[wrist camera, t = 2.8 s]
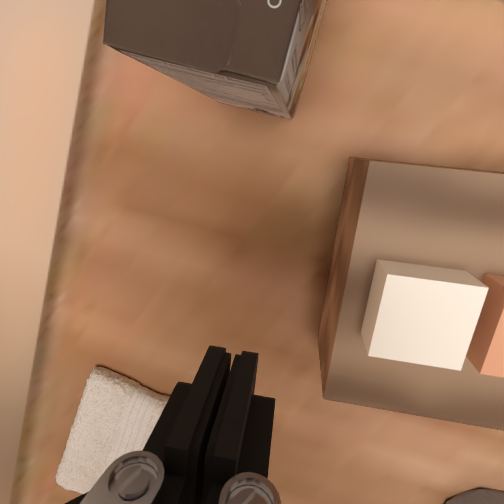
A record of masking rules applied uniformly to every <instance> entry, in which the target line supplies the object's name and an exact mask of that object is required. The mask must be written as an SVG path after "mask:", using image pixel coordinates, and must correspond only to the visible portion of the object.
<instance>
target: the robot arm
mask: <svg viewBox="0 0 504 504" xmlns="http://www.w3.org/2000/svg"><path fill="white" fill-rule="evenodd" d="M257 363H258V353H253V352H247V351H242V354H241V355H238V354H236V355H235V358H234V361H233V364H232V367H231V371H230V364H231V353H226V348H222V347H216V346H209V348H208V350H207V352H206V354H205V356H204V359H203V361H202V363H201V365H200V368H199V370H198V372H197V374H196V376H195V379H194V381H193V383H192V384H190V383H184V382H178V383H177V385H176V386H175V388H174V390H173V392H172V394H171V396H170V398H169V400H168V402H167V404H166V405H165V407H164V409H163V411H162V413H161V415H160V417H159V419H158V421H157V423H156V425H155V427H154V429H153V431H152V433H151V435H150V437H149V439H148V440H147V442H146V444H145V446H144V448H143V450H141V451H132V452H129V453H126V454H124V455H122V456H120V457H119V458H117V459H116V460H114V461H113V462H112V463H111V464H110V466H109V467H108V468H107V469H106V470H105V471H104V473H103V474H102V475H101V477H100V478H99V479H98V481H97V482H96V483H95V484H94V486H93V487H92V488H91V490H90V491H89V492H87V493H85V494H83V495H81V496H79V497H77V498H75V499H73V500H71V501H69V502H67V503H65V504H281V501H280V496H279V493H278V491H277V490H276V488H275V486H274V485H273V484H272V483H271V482H270V481H269V480H268V479H267V477H268V467H269V457H270V447H271V437H272V427H273V417H274V408H275V398H269V397H263V396H258V395H254V389H255V380H256V372H257Z"/></svg>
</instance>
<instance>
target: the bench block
mask: <svg viewBox="0 0 504 504" xmlns="http://www.w3.org/2000/svg"><path fill="white" fill-rule="evenodd" d="M377 259H379V260H387V261H395V262H402V263H410V264H418V265H425V266H433V267H441V268H448V269H456V270H464V271H467V272H468V273H470V274H471V275H472V276H474V277H475V278H476V279H478V280H479V281H480V282H482V279H483V276H484V273H487V274H494V275H502V276H504V173H502V172H492V171H482V170H472V169H462V168H452V167H442V166H432V165H422V164H412V163H402V162H392V161H382V160H372V159H362V158H352V157H350V159H349V164H348V170H347V176H346V181H345V187H344V192H343V198H342V204H341V209H340V215H339V221H338V226H337V232H336V238H335V243H334V249H333V255H332V260H331V266H330V272H329V277H328V283H327V289H326V294H325V300H324V306H323V311H322V317H321V322H320V328H319V334H318V345H319V356H320V367H321V379H322V390H323V399H326V400H332V401H337V402H343V403H349V404H355V405H360V406H366V407H372V408H377V409H383V410H389V411H394V412H400V413H406V414H412V415H417V416H423V417H429V418H434V419H440V420H446V421H451V422H457V423H463V424H469V425H474V426H480V427H486V428H491V429H497V430H503V431H504V378H503V377H497V376H490V375H484V374H480V373H479V372H478V371H477V370H476V368H475V367H474V366H473V364H472V363H471V362H470V361H469V359H468V358H467V357H465V360H464V363H463V366H462V369H461V371H459V370H453V369H447V368H440V367H434V366H428V365H422V364H415V363H409V362H403V361H397V360H390V359H384V358H378V357H372V356H368V354H367V351H366V348H365V345H364V342H363V339H362V335H361V329H362V325H363V320H364V316H365V311H366V307H367V302H368V298H369V293H370V289H371V284H372V280H373V275H374V271H375V266H376V261H377Z"/></svg>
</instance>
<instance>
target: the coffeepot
mask: <svg viewBox="0 0 504 504" xmlns="http://www.w3.org/2000/svg"><path fill="white" fill-rule="evenodd" d="M445 504H504V492H503V491H500V490H494V489H475V490H469V491H466V492H462V493H460V494H458V495H456V496H454V497H452V498H451V499H450V500H448V501H447V502H446V503H445Z"/></svg>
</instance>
